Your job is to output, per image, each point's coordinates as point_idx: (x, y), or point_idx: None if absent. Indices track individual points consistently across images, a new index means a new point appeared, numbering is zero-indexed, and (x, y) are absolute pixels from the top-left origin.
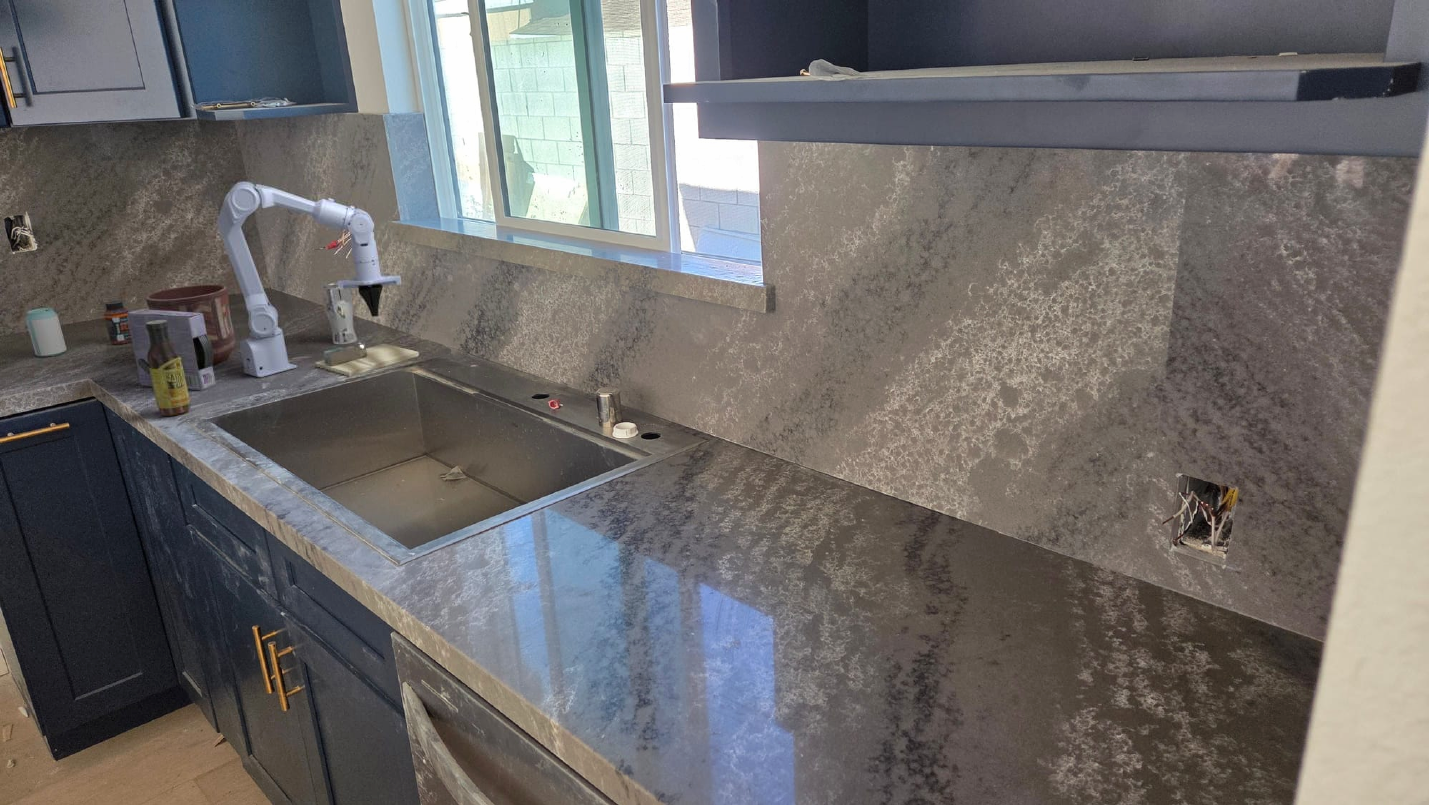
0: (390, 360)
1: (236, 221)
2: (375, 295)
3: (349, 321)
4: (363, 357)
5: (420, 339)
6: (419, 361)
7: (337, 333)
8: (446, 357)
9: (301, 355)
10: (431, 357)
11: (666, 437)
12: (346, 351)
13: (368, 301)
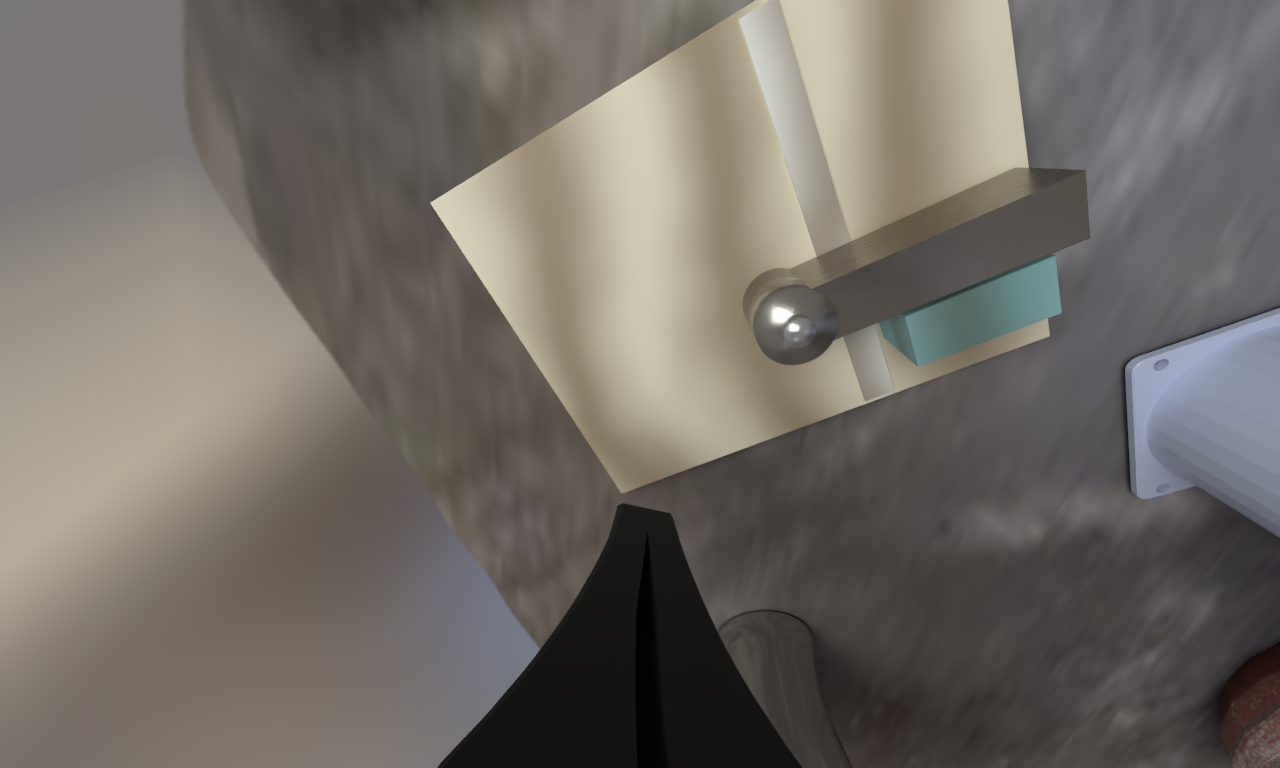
0: (620, 86)
1: None
2: (560, 718)
3: None
4: None
5: (454, 513)
6: (430, 39)
7: (806, 668)
8: (245, 33)
9: (988, 557)
10: (356, 106)
11: None
12: (918, 236)
13: (692, 656)
